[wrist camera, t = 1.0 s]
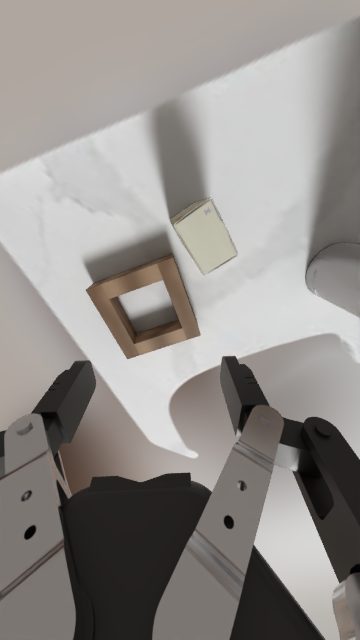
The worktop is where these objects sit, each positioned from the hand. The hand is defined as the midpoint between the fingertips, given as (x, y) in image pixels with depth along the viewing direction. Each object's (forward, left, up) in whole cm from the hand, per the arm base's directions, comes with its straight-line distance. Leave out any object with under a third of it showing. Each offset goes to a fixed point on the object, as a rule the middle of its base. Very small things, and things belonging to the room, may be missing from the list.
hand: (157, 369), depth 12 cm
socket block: (+4, +4, -23) cm, 24 cm away
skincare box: (-7, -5, -24) cm, 25 cm away
